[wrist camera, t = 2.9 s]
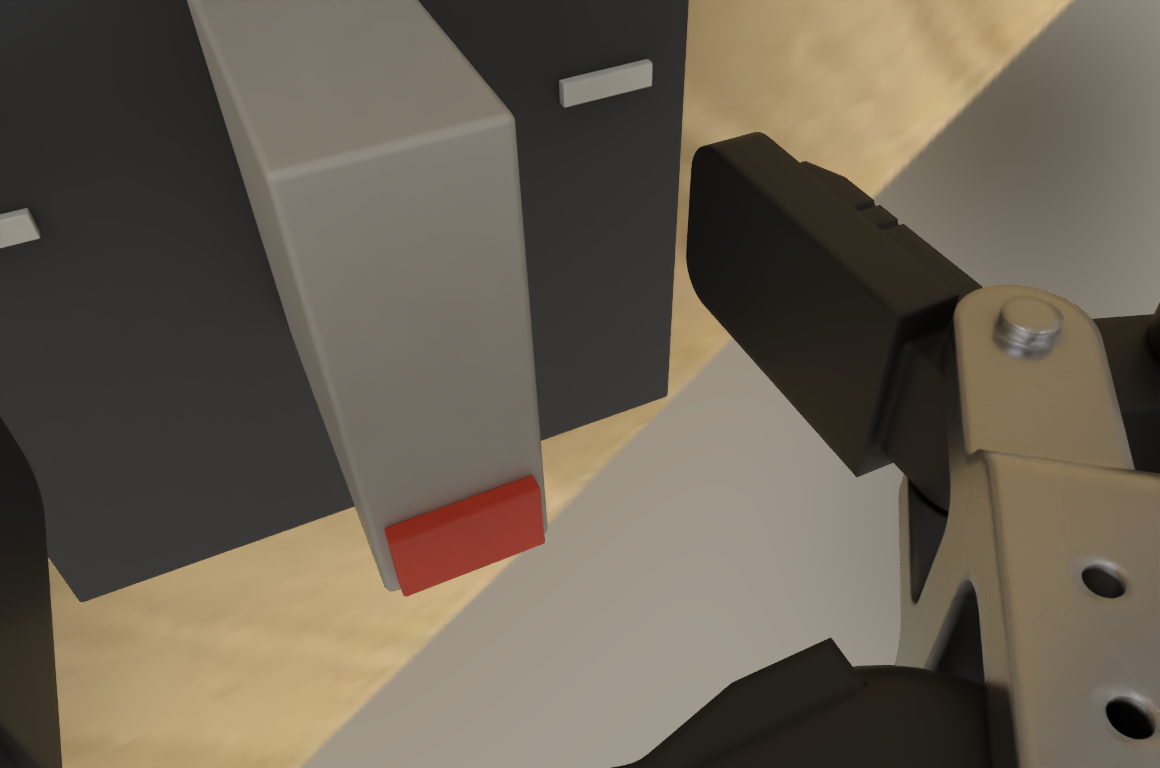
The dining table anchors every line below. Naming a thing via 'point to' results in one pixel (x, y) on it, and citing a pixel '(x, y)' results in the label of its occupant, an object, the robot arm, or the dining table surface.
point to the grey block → (393, 266)
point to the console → (243, 274)
